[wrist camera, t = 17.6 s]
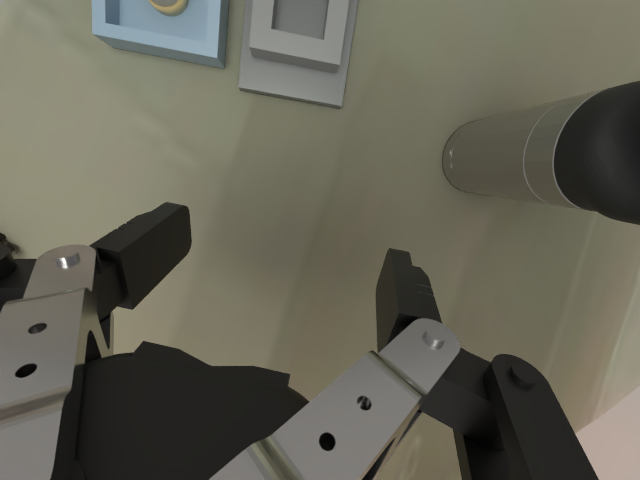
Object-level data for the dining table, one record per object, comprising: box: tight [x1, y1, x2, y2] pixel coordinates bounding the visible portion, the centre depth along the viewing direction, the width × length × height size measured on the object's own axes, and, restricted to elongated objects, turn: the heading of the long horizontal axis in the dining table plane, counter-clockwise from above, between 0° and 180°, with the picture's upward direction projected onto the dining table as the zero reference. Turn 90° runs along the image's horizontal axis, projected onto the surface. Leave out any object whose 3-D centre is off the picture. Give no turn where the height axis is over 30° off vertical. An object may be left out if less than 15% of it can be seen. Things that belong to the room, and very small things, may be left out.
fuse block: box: [238, 0, 358, 108], centre depth 32 cm, size 12×16×4 cm
